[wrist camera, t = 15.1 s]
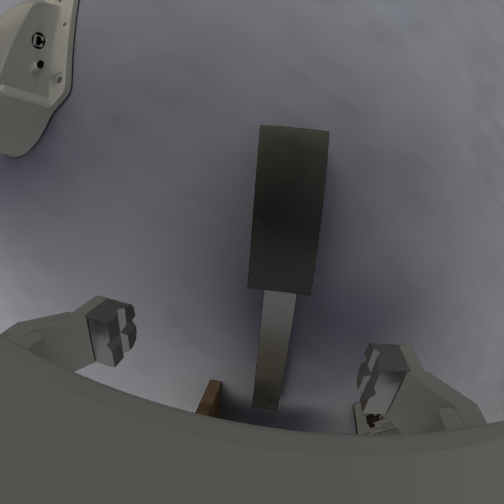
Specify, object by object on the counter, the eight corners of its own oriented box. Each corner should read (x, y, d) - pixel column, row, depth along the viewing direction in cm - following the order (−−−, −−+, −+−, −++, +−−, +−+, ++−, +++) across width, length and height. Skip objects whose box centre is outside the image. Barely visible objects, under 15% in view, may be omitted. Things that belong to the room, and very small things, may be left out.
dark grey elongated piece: (271, 137, 23) (260, 124, 16) (321, 142, 22) (329, 131, 16) (249, 387, 30) (236, 434, 23) (286, 392, 29) (281, 441, 23)
